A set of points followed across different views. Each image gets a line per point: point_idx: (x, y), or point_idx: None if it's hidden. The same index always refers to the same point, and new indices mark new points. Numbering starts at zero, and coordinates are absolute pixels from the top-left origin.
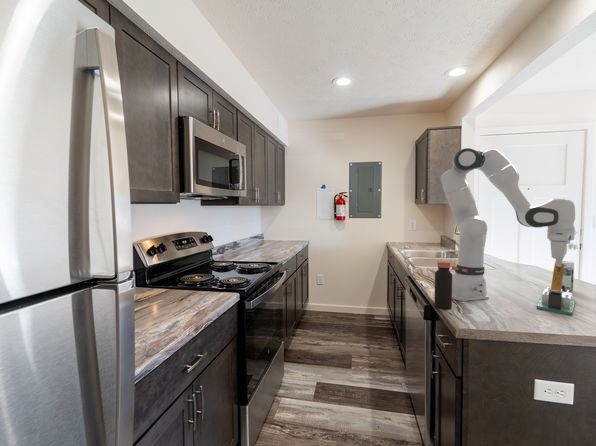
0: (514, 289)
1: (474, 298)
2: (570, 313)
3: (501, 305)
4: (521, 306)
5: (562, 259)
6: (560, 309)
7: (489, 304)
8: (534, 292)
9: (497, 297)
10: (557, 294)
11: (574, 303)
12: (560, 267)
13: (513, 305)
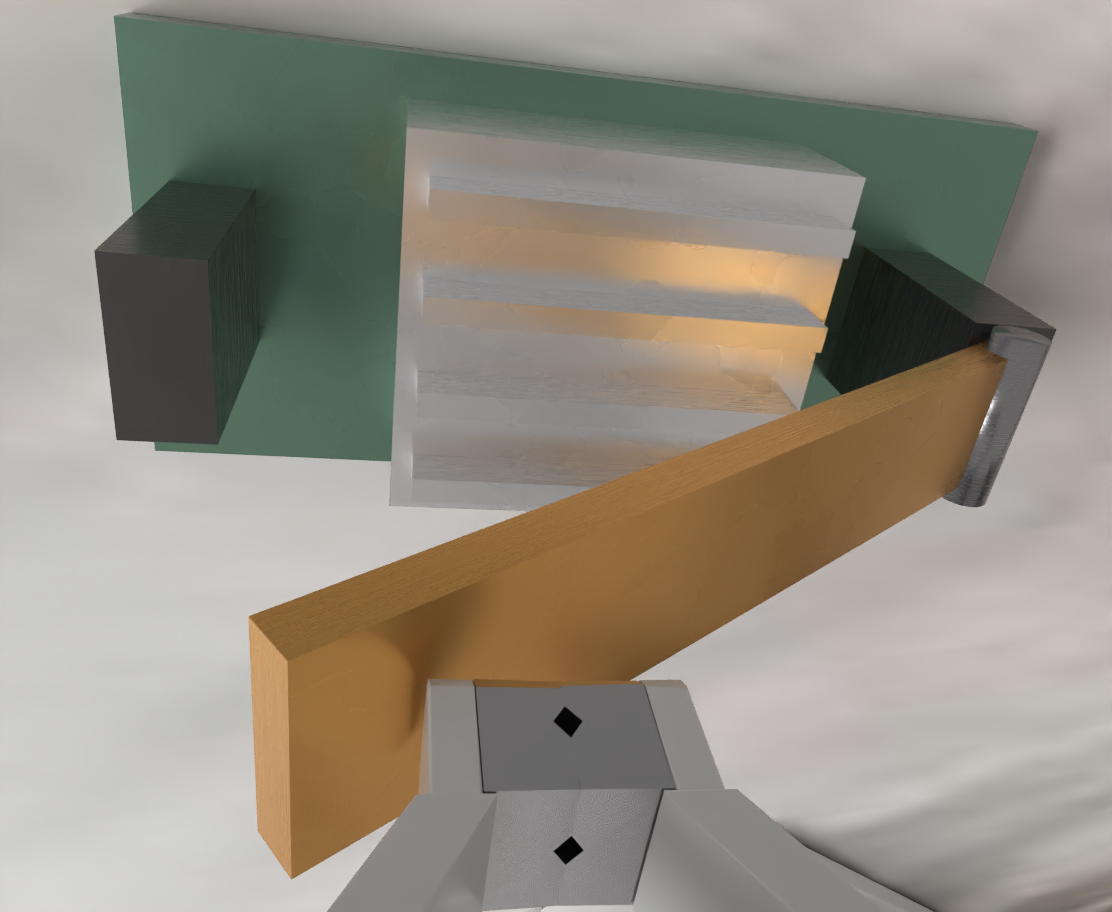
0: (78, 728)
1: (886, 898)
2: (1020, 147)
3: (936, 715)
4: (881, 586)
5: (424, 901)
6: (952, 258)
7: (952, 784)
8: (21, 535)
9: None
10: None
11: (360, 43)
12: (479, 651)
13: (882, 644)
